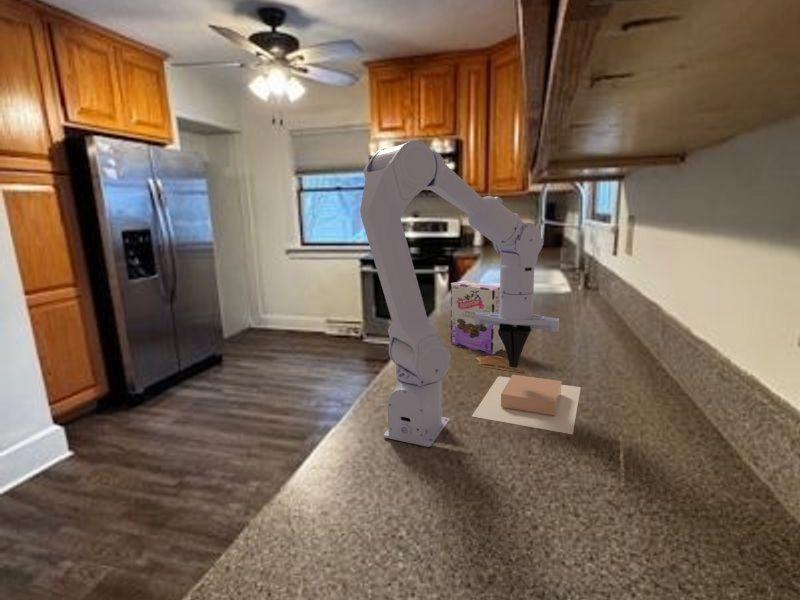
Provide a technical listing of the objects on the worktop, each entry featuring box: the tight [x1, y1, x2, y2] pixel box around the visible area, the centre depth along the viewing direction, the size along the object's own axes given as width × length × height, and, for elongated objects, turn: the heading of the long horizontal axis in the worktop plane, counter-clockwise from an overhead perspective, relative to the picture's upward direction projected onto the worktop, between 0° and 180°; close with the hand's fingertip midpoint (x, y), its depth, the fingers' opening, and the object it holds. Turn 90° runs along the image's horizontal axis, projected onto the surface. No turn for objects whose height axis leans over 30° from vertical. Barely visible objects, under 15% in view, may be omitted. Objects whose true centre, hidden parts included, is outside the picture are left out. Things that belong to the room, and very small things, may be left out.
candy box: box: [450, 279, 506, 356], centre depth 114 cm, size 14×6×16 cm, turn 42°
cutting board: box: [471, 375, 582, 435], centre depth 81 cm, size 20×16×1 cm
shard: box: [475, 355, 525, 374], centre depth 99 cm, size 11×8×2 cm
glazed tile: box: [501, 374, 563, 416], centre depth 81 cm, size 10×3×9 cm
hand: (514, 365), depth 81 cm, fingers closed
